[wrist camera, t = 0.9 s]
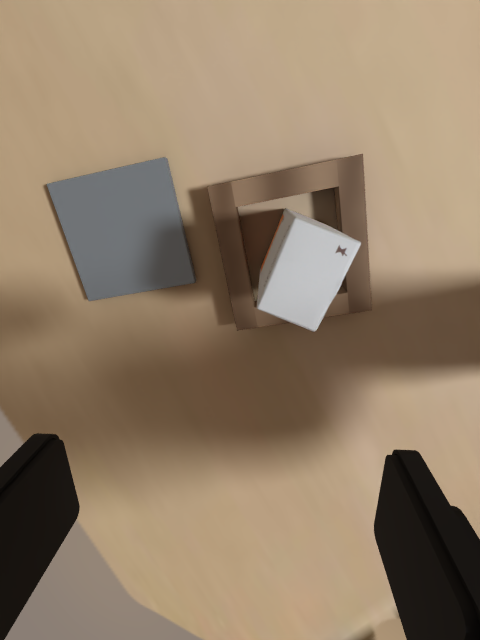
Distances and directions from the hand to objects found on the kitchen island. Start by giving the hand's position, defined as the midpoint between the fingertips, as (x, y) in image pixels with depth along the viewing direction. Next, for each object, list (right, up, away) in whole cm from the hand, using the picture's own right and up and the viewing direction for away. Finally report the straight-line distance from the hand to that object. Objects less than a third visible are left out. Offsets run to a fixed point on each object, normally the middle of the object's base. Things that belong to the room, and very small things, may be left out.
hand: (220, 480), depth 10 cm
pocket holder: (+5, +11, +21) cm, 24 cm away
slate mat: (-10, +13, +21) cm, 27 cm away
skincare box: (+5, +11, +21) cm, 24 cm away
